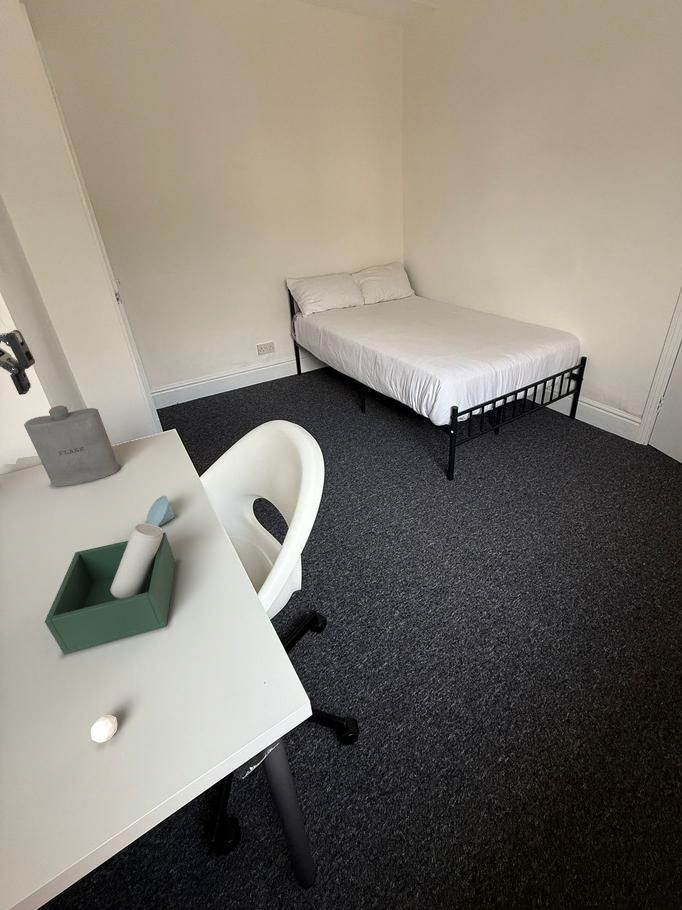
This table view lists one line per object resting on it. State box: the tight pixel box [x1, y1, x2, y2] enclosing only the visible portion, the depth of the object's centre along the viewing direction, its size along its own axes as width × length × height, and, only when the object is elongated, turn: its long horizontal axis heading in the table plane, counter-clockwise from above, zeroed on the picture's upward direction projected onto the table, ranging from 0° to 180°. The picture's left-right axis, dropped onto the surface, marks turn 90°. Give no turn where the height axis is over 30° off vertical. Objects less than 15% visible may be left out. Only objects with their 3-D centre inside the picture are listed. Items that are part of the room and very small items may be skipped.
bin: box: [44, 532, 177, 656], centre depth 71 cm, size 15×15×8 cm
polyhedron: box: [90, 714, 118, 744], centre depth 54 cm, size 3×3×3 cm
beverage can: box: [111, 523, 164, 599], centre depth 72 cm, size 5×5×12 cm
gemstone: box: [146, 495, 176, 527], centre depth 91 cm, size 8×8×5 cm
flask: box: [23, 405, 120, 487], centre depth 103 cm, size 15×6×20 cm, turn 114°
